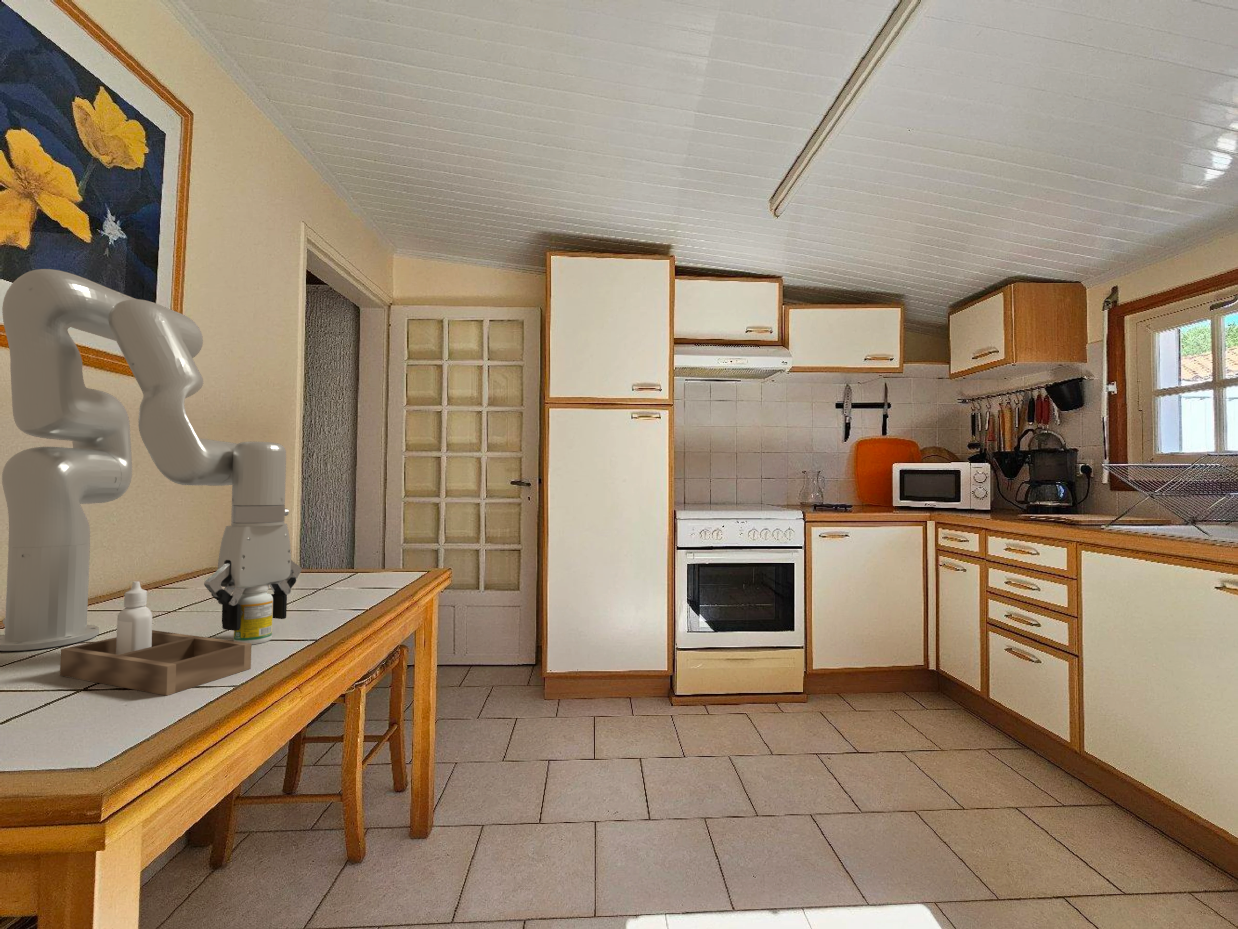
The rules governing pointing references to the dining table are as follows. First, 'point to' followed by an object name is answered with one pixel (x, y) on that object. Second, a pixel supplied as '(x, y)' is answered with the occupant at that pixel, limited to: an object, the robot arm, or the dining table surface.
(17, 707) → the dining table surface
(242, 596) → the supplement bottle
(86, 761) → the dining table surface
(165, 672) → the walnut rack
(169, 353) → the robot arm
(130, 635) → the eye dropper bottle
